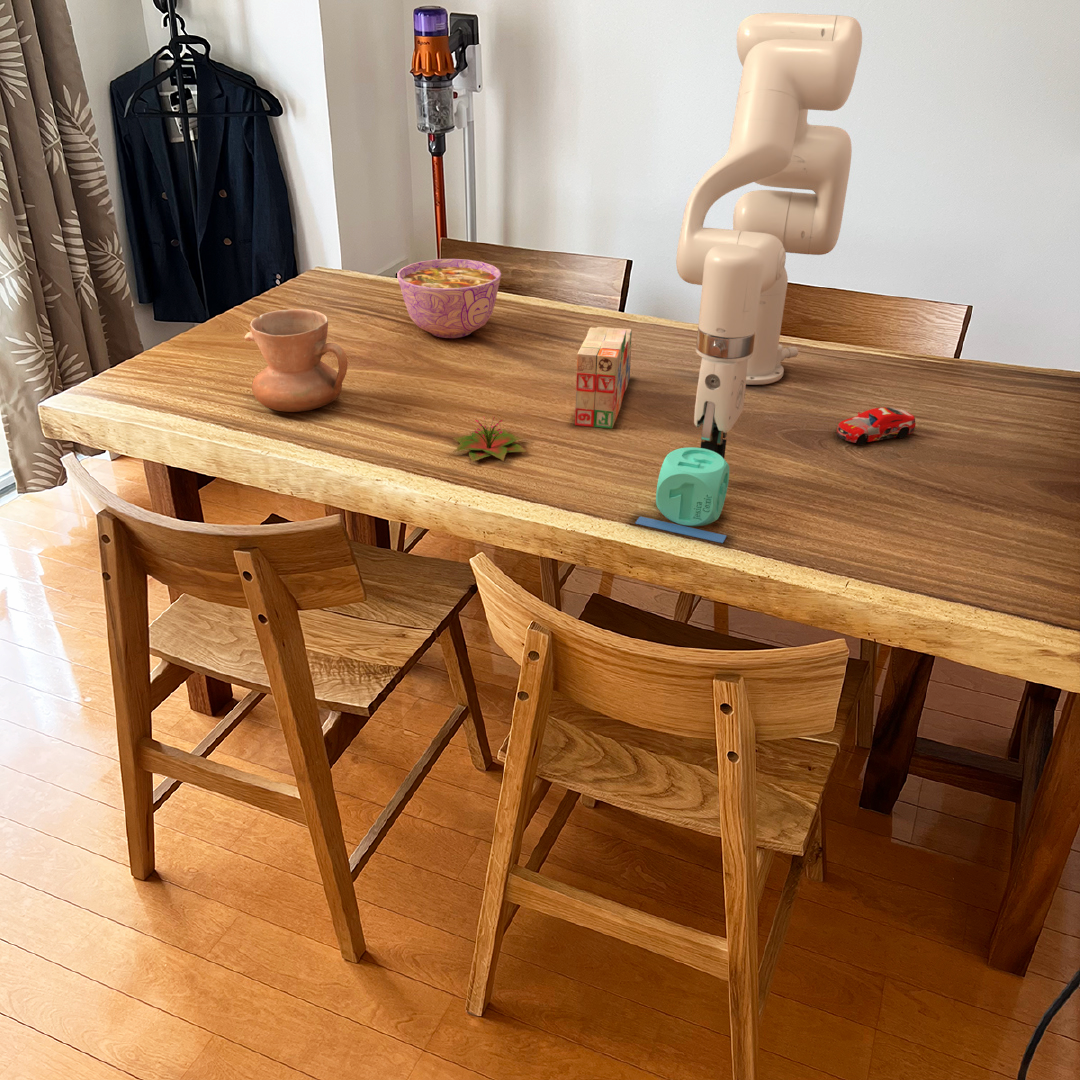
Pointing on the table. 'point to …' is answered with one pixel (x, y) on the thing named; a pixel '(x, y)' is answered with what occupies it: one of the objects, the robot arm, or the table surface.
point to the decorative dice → (692, 486)
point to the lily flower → (489, 443)
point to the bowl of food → (449, 295)
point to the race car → (876, 425)
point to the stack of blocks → (602, 376)
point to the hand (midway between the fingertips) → (711, 464)
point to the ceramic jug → (295, 360)
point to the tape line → (681, 529)
